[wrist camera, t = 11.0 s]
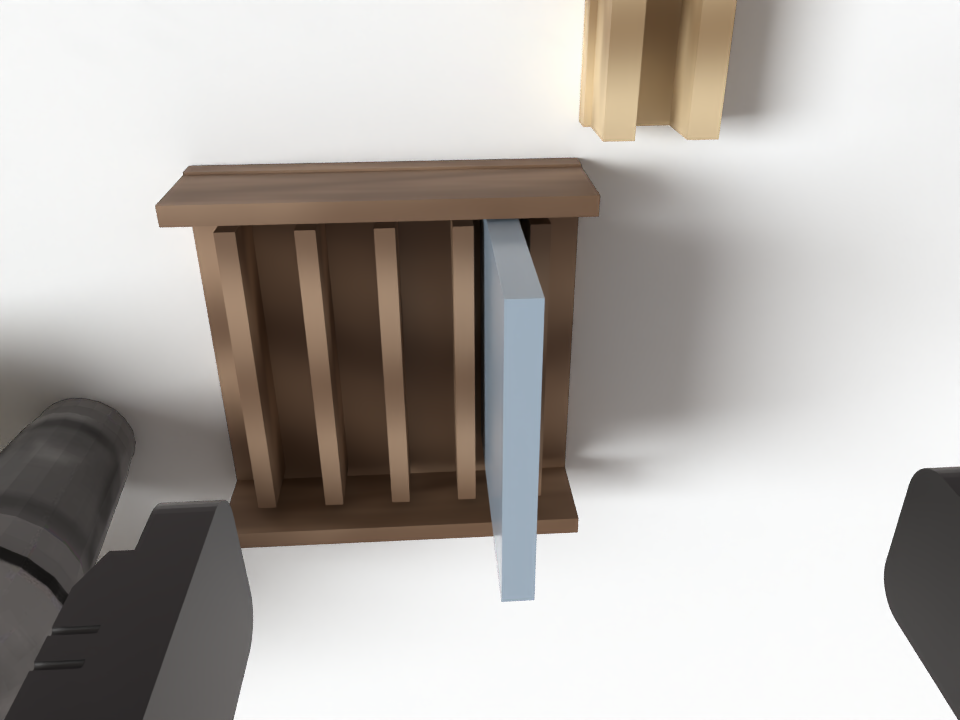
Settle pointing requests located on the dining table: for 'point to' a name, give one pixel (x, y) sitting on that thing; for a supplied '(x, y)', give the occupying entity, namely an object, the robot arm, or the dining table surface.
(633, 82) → the plate stand
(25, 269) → the dining table surface
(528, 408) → the plate
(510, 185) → the rack
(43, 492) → the beverage cup
